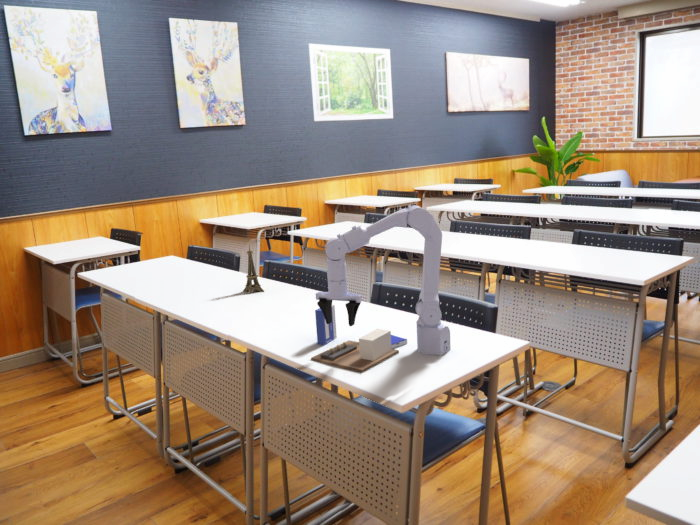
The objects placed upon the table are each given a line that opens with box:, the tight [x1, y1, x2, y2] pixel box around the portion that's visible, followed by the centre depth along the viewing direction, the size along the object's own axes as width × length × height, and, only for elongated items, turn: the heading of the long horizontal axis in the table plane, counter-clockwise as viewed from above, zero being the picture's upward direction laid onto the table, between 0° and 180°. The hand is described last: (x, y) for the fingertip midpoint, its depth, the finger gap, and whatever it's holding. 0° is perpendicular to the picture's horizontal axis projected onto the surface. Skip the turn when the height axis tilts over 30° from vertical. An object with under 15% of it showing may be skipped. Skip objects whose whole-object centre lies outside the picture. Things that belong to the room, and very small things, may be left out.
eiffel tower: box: [242, 245, 265, 295], centre depth 247 cm, size 11×11×25 cm
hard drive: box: [391, 334, 408, 349], centre depth 180 cm, size 2×8×12 cm
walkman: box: [314, 304, 338, 346], centre depth 183 cm, size 8×3×12 cm, turn 152°
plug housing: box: [358, 328, 392, 361], centre depth 168 cm, size 5×10×6 cm, turn 145°
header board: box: [310, 340, 400, 373], centre depth 169 cm, size 19×18×3 cm
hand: (340, 324), depth 169 cm, fingers open, 7 cm apart
